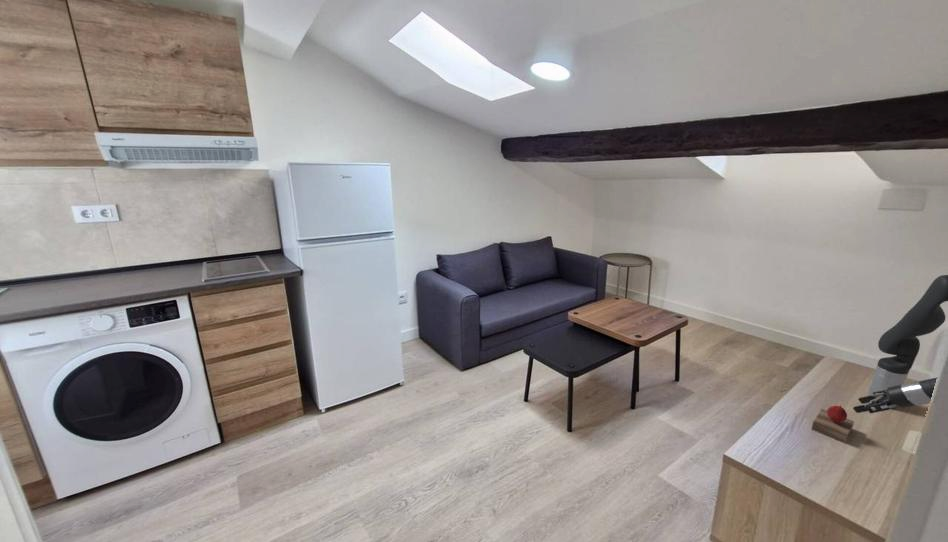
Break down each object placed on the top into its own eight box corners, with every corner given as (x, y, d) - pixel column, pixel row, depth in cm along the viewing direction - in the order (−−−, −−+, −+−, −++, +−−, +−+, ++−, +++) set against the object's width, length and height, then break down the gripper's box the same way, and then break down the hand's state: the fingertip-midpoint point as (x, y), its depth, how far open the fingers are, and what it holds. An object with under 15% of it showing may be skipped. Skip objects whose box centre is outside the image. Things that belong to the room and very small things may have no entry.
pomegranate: (848, 427, 148) (853, 410, 145) (831, 425, 149) (836, 408, 147) (837, 417, 153) (842, 400, 151) (821, 416, 154) (826, 399, 152)
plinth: (819, 416, 160) (821, 409, 158) (851, 429, 152) (854, 421, 151) (811, 429, 153) (813, 421, 152) (844, 443, 145) (847, 434, 144)
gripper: (905, 377, 137) (854, 389, 150) (898, 392, 129) (845, 403, 142) (922, 396, 135) (869, 407, 147) (917, 413, 127) (860, 422, 139)
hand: (857, 405), depth 144 cm, fingers open, 8 cm apart
